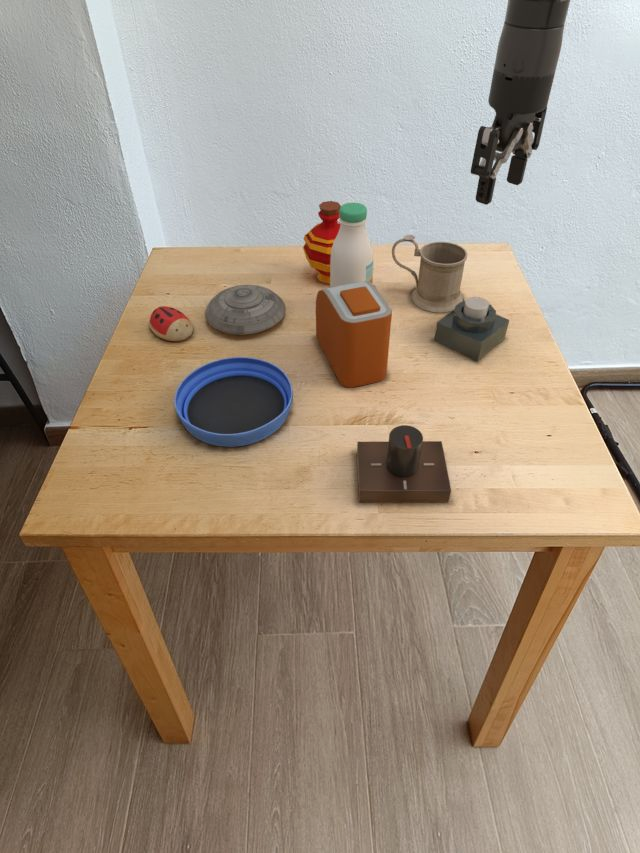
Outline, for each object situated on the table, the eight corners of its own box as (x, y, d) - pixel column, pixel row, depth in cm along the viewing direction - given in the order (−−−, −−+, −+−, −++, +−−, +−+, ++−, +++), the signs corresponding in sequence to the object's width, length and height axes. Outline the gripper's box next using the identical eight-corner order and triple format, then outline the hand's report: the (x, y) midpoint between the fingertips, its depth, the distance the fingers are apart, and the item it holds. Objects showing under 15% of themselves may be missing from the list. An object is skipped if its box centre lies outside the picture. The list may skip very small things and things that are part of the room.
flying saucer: (295, 300, 113) (294, 275, 109) (272, 346, 103) (269, 320, 99) (223, 290, 116) (219, 266, 112) (193, 334, 106) (188, 308, 102)
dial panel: (439, 452, 84) (441, 440, 83) (448, 502, 78) (451, 489, 76) (356, 453, 85) (357, 440, 83) (359, 502, 78) (360, 490, 76)
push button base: (504, 338, 104) (512, 310, 99) (477, 362, 99) (483, 333, 95) (462, 319, 108) (467, 290, 104) (433, 340, 103) (438, 312, 99)
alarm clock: (391, 379, 96) (398, 309, 87) (343, 390, 94) (344, 320, 85) (360, 329, 106) (363, 262, 97) (315, 338, 104) (314, 270, 95)
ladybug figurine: (173, 349, 103) (169, 332, 100) (140, 327, 108) (136, 311, 105) (202, 332, 106) (199, 315, 104) (169, 311, 111) (166, 295, 109)
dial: (383, 454, 81) (386, 424, 77) (415, 451, 81) (419, 422, 77) (389, 478, 78) (392, 449, 74) (421, 475, 78) (426, 446, 74)
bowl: (249, 468, 83) (246, 452, 80) (154, 423, 90) (149, 406, 87) (315, 395, 94) (314, 378, 91) (226, 360, 100) (223, 343, 98)
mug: (464, 288, 115) (475, 231, 107) (460, 315, 109) (471, 257, 100) (392, 279, 118) (397, 223, 110) (384, 306, 111) (388, 248, 103)
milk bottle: (355, 326, 107) (359, 222, 93) (322, 311, 110) (320, 209, 96) (378, 306, 111) (385, 205, 97) (345, 293, 115) (347, 193, 100)
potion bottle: (356, 264, 122) (358, 194, 112) (353, 291, 115) (355, 219, 105) (306, 263, 123) (304, 193, 113) (300, 289, 116) (297, 217, 105)
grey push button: (491, 312, 100) (493, 302, 98) (478, 322, 98) (480, 312, 96) (471, 303, 102) (473, 293, 100) (458, 313, 100) (460, 303, 98)
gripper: (526, 49, 78) (501, 170, 90) (468, 72, 71) (449, 201, 83) (579, 58, 75) (546, 184, 86) (523, 84, 68) (495, 217, 79)
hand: (498, 192), depth 85 cm, fingers open, 8 cm apart
